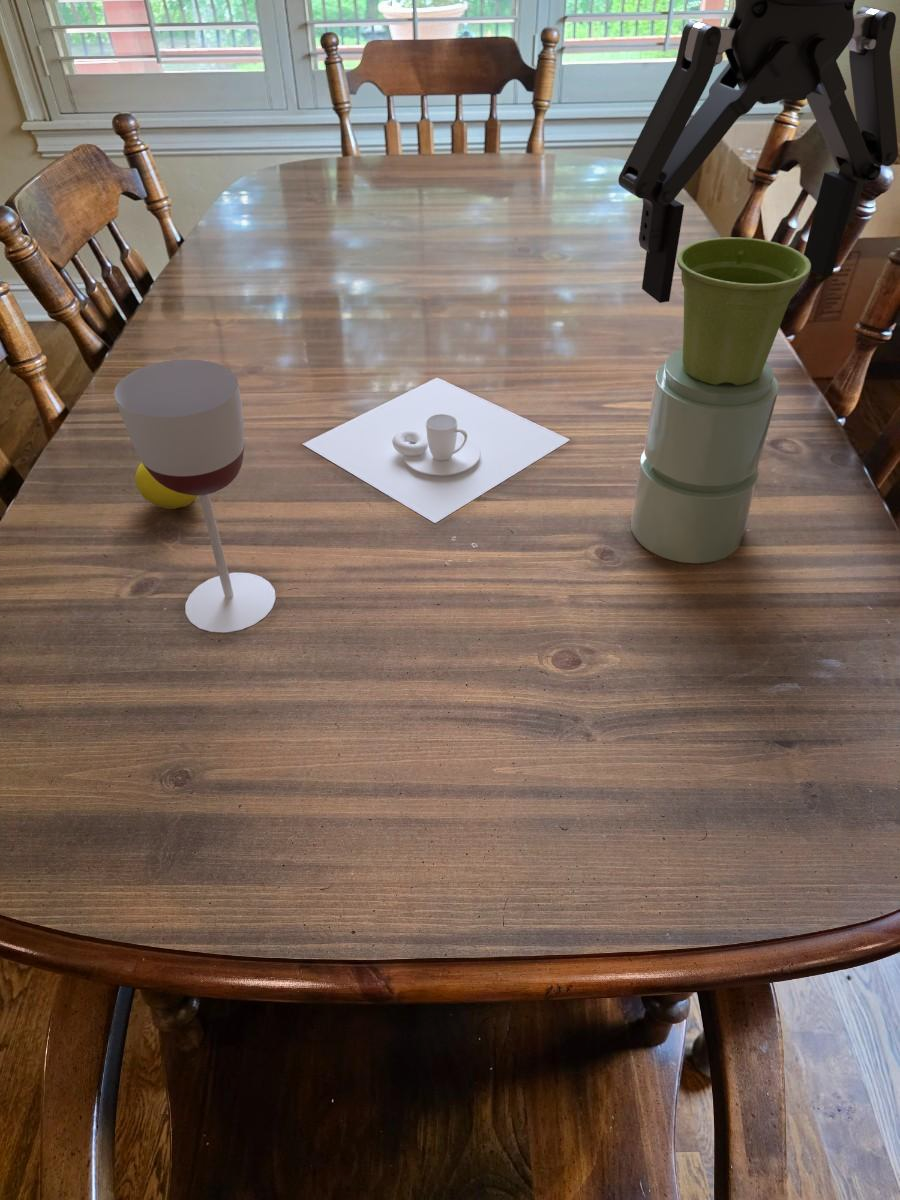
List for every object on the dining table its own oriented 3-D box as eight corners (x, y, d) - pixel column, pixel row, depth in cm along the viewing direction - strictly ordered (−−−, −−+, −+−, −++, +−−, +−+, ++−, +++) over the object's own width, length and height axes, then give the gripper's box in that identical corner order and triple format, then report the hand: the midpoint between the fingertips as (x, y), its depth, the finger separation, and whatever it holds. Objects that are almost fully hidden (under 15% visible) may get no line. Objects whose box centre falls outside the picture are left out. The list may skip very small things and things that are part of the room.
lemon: (130, 516, 82) (114, 468, 79) (155, 484, 86) (141, 437, 83) (199, 524, 81) (186, 476, 78) (221, 491, 85) (210, 444, 82)
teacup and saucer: (381, 455, 89) (378, 420, 87) (436, 425, 94) (435, 391, 91) (441, 488, 85) (440, 453, 82) (496, 456, 89) (497, 421, 86)
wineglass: (237, 649, 69) (181, 429, 56) (159, 611, 72) (88, 396, 59) (300, 591, 74) (263, 377, 60) (224, 558, 77) (172, 349, 64)
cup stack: (764, 549, 77) (811, 386, 66) (663, 573, 75) (695, 409, 64) (705, 488, 84) (739, 332, 73) (611, 509, 82) (632, 351, 71)
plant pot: (635, 368, 69) (650, 258, 63) (707, 332, 74) (727, 226, 68) (735, 411, 64) (761, 296, 58) (805, 370, 68) (836, 259, 63)
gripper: (944, -97, 55) (847, 243, 69) (587, -79, 50) (561, 286, 64) (1038, -90, 50) (913, 277, 64) (650, -69, 44) (606, 327, 58)
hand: (737, 282), depth 64 cm, fingers open, 13 cm apart
